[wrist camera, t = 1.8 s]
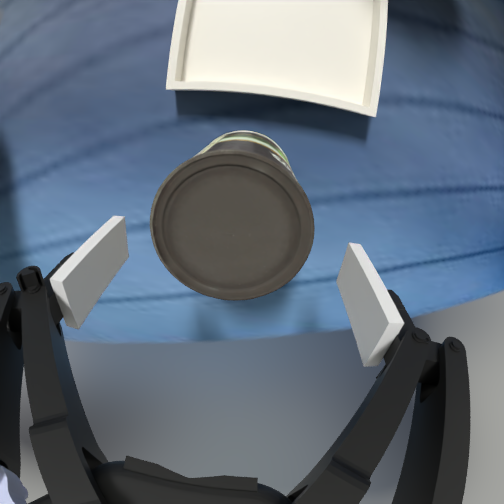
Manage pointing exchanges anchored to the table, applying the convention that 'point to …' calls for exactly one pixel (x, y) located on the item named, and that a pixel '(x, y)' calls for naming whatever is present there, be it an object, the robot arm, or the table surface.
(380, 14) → the tray
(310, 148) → the table surface
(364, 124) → the table surface
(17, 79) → the table surface
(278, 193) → the coffee can
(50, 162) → the table surface
